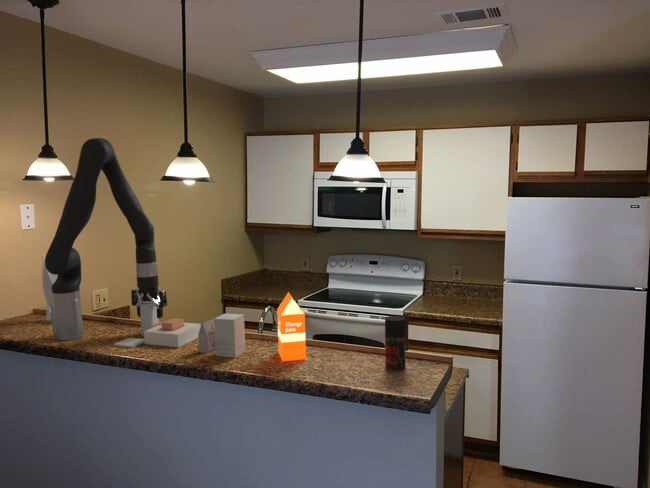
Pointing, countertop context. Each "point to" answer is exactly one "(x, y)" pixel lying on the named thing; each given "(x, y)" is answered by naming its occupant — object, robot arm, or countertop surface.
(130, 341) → the mat
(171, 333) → the frame
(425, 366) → the countertop surface
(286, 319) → the orange juice
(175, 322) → the button
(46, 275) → the skyscraper
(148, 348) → the countertop surface
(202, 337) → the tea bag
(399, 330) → the deodorant
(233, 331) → the supplement box
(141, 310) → the skincare box
